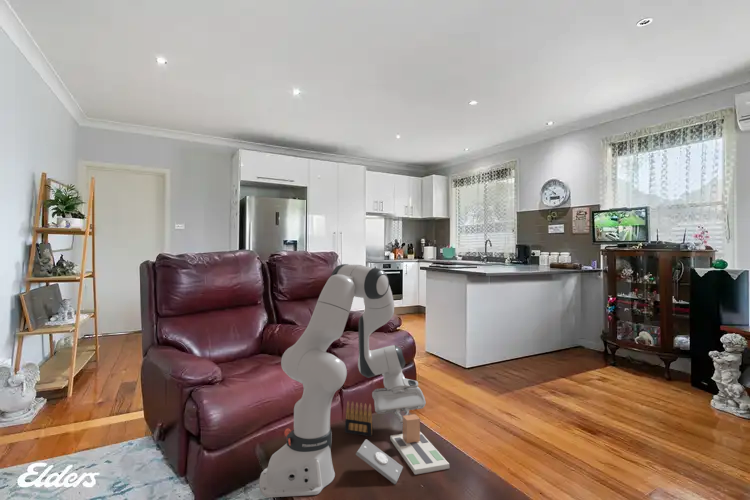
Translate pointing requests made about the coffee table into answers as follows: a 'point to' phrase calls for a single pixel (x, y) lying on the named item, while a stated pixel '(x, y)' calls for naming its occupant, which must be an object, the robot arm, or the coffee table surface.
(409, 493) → the coffee table surface
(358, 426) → the ammunition clip
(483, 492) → the coffee table surface
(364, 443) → the light switch
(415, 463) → the switch board
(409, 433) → the tan rectangular block
